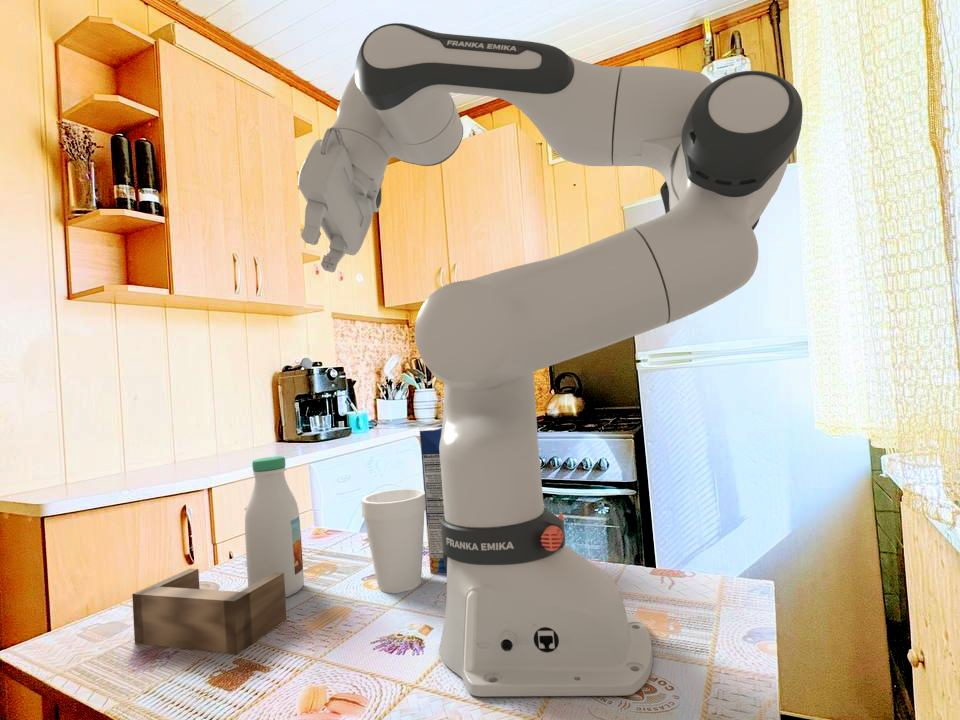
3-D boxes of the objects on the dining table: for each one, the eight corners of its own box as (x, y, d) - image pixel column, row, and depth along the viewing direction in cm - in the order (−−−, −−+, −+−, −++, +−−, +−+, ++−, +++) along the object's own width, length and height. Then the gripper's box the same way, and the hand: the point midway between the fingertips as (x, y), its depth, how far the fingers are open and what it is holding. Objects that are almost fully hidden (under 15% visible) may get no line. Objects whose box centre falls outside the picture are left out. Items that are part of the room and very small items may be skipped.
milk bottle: (285, 603, 70) (276, 461, 71) (236, 603, 72) (228, 463, 73) (313, 581, 78) (305, 452, 79) (269, 581, 79) (262, 455, 80)
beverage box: (430, 573, 77) (419, 431, 78) (451, 549, 88) (441, 424, 89) (472, 574, 76) (461, 428, 77) (488, 549, 86) (478, 421, 87)
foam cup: (412, 600, 68) (405, 504, 69) (355, 595, 71) (348, 503, 72) (441, 573, 77) (435, 488, 78) (389, 570, 80) (383, 488, 81)
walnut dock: (286, 619, 65) (283, 572, 65) (237, 654, 57) (234, 601, 57) (192, 611, 70) (190, 568, 70) (134, 642, 62) (132, 593, 62)
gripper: (358, 125, 60) (320, 228, 57) (383, 209, 80) (355, 288, 77) (308, 111, 60) (267, 213, 57) (345, 198, 80) (316, 277, 77)
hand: (318, 256), depth 67 cm, fingers open, 8 cm apart
